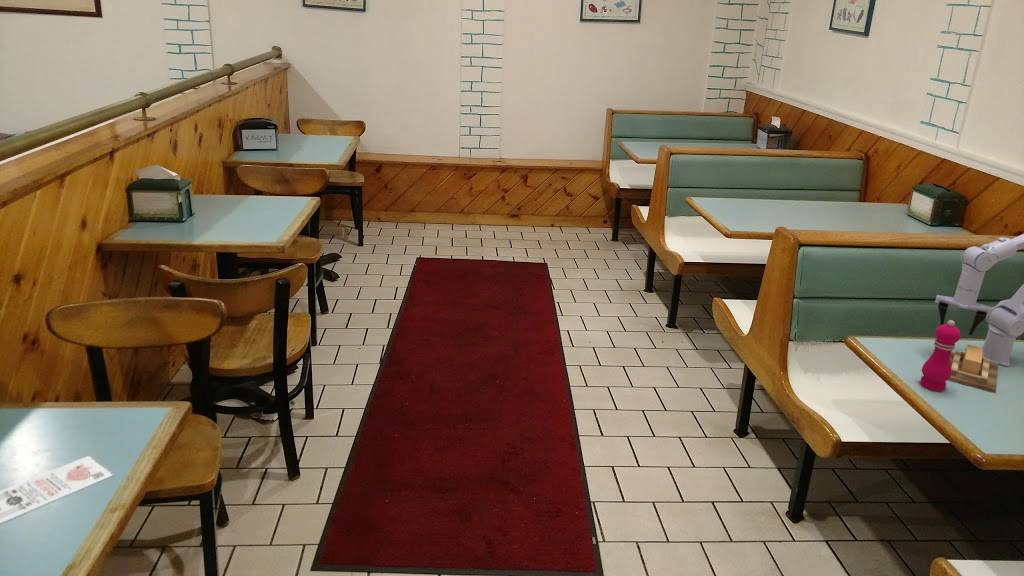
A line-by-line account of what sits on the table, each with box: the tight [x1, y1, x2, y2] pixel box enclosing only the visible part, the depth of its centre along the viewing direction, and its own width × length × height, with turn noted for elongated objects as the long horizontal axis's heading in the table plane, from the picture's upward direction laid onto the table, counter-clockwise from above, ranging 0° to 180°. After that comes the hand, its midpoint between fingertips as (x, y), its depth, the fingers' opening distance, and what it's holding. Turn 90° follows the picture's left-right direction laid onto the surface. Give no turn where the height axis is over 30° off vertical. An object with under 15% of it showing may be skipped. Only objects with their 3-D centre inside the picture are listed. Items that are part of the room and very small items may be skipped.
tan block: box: [961, 344, 983, 375], centre depth 220 cm, size 12×4×5 cm, turn 148°
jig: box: [948, 350, 999, 394], centre depth 220 cm, size 20×14×2 cm
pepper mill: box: [919, 319, 961, 392], centre depth 208 cm, size 7×7×20 cm
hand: (955, 330), depth 225 cm, fingers open, 7 cm apart
